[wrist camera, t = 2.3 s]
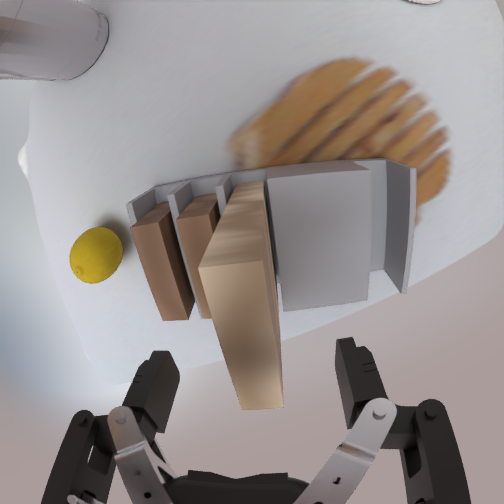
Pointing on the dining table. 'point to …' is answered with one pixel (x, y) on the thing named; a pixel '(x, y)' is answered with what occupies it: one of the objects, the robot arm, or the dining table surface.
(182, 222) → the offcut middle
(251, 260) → the wooden block
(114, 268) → the lemon
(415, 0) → the plastic lid
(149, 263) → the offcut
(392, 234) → the rack
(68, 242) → the dining table surface
